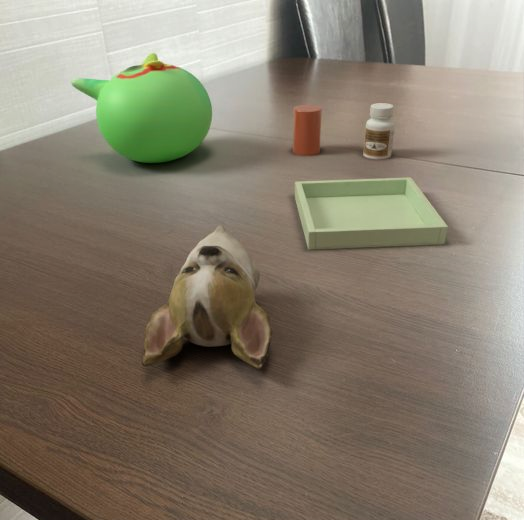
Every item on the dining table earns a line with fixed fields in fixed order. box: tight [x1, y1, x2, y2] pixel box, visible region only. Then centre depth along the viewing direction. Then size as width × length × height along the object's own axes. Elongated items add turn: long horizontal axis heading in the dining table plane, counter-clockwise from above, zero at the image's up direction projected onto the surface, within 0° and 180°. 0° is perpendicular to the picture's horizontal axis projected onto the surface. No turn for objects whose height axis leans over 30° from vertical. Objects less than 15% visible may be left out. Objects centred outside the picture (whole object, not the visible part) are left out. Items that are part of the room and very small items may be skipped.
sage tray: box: [294, 177, 449, 250], centre depth 68 cm, size 16×16×2 cm
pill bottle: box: [362, 102, 396, 160], centre depth 86 cm, size 4×4×8 cm
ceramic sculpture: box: [141, 225, 273, 370], centre depth 48 cm, size 11×9×15 cm
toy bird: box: [70, 52, 213, 164], centre depth 85 cm, size 18×17×15 cm
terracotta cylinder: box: [292, 104, 323, 157], centre depth 88 cm, size 4×4×7 cm
